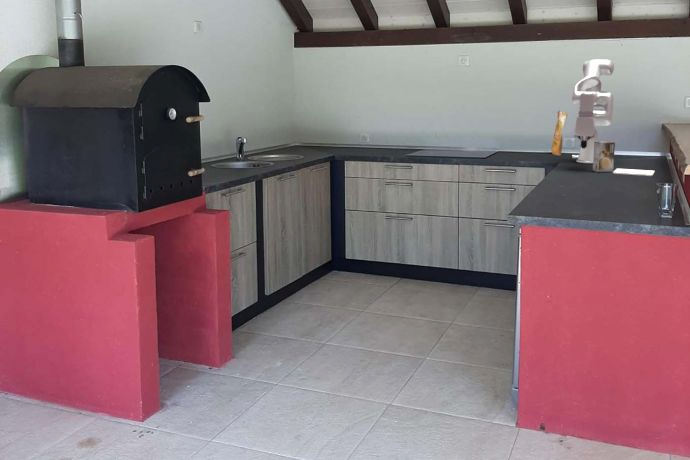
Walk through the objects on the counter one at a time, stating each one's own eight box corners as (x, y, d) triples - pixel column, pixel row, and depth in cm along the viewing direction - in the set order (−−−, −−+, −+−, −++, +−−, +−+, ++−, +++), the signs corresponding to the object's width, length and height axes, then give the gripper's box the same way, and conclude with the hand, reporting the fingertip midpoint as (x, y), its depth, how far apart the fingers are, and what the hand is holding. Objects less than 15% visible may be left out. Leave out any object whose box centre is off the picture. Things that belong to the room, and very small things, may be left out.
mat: (612, 173, 395) (613, 172, 395) (616, 170, 409) (617, 168, 409) (651, 176, 386) (651, 174, 386) (654, 172, 400) (654, 170, 400)
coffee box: (607, 170, 409) (609, 141, 405) (613, 171, 402) (615, 142, 399) (592, 170, 407) (594, 141, 403) (598, 172, 401) (600, 142, 397)
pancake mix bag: (560, 152, 493) (562, 110, 487) (565, 155, 474) (568, 112, 468) (549, 152, 493) (552, 110, 487) (554, 155, 475) (557, 112, 469)
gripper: (570, 114, 403) (568, 148, 407) (599, 115, 396) (596, 149, 400) (573, 114, 410) (571, 147, 413) (601, 115, 403) (598, 148, 406)
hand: (583, 148), depth 407 cm, fingers closed
